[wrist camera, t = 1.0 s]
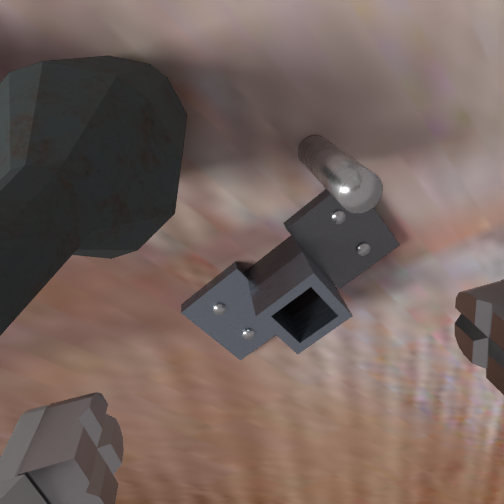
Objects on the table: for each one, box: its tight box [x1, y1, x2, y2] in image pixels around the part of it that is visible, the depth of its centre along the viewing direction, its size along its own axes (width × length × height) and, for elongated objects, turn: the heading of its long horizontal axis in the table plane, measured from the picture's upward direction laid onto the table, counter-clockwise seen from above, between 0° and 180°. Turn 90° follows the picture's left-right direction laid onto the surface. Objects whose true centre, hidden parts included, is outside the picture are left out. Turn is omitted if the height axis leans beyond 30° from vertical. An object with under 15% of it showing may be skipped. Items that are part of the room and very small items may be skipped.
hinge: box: [181, 189, 400, 360], centre depth 39 cm, size 23×10×8 cm, turn 130°
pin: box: [298, 135, 383, 213], centre depth 31 cm, size 3×3×12 cm
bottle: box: [0, 56, 187, 335], centre depth 20 cm, size 10×10×30 cm
